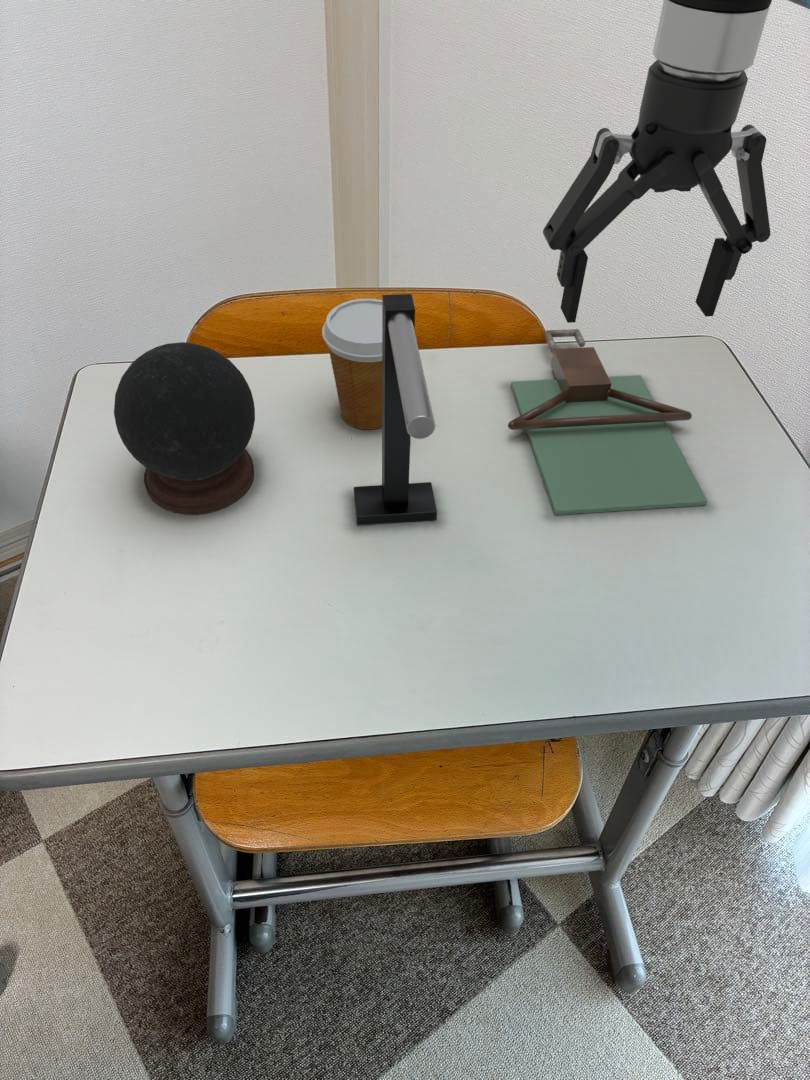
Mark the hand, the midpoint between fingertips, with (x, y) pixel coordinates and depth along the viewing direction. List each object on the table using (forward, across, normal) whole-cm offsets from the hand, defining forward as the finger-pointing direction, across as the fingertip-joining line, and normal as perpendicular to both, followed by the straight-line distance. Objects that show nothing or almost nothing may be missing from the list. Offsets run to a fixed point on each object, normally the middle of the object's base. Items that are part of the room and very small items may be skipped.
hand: (636, 312), depth 77 cm
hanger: (+14, 0, -1) cm, 15 cm away
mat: (+16, 0, 0) cm, 16 cm away
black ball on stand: (+16, +44, +2) cm, 47 cm away
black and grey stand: (+16, +24, +14) cm, 32 cm away
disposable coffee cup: (+16, +26, -8) cm, 31 cm away
